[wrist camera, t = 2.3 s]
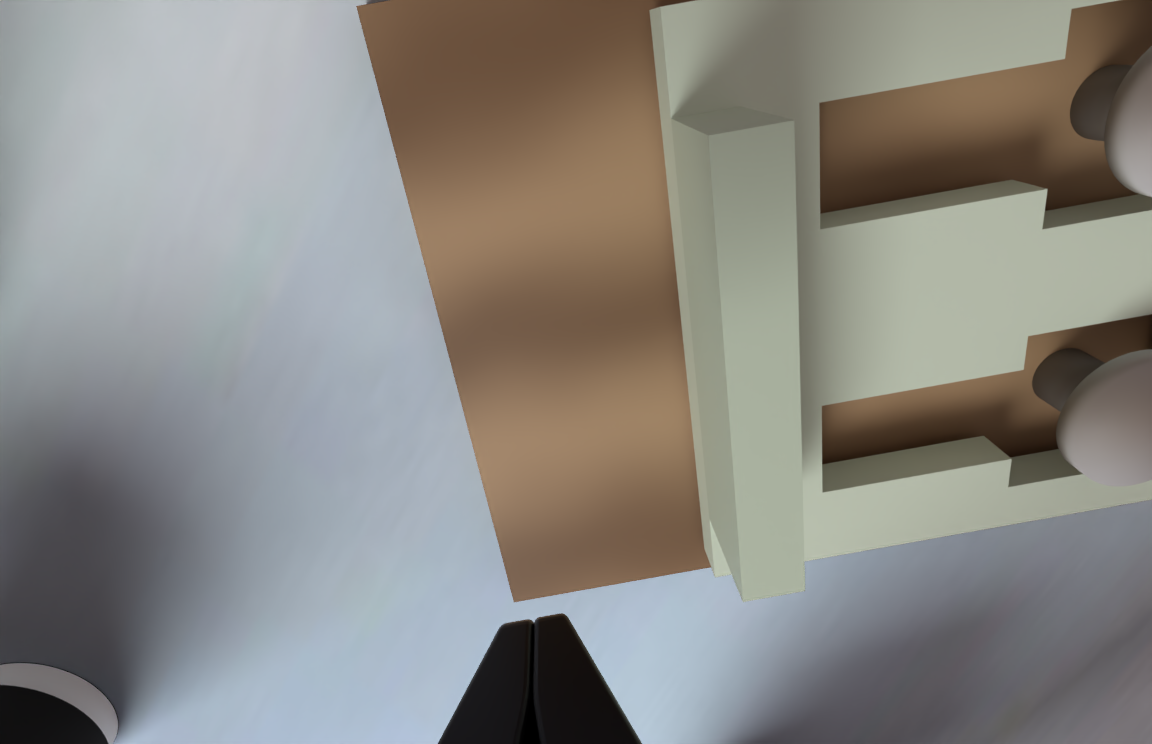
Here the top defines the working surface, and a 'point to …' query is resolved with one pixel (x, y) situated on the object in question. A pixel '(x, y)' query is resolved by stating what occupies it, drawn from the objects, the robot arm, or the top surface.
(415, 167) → the walnut board
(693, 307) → the sage panel
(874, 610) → the top surface
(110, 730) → the dixie cup
